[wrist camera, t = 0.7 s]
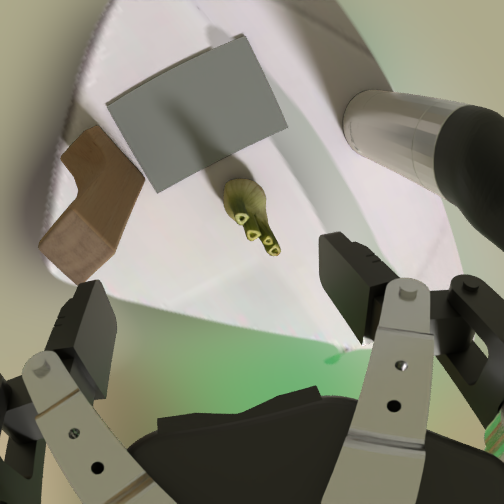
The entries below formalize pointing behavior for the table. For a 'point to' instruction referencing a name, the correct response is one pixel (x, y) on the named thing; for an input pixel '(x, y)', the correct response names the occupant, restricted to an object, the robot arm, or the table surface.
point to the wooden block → (93, 206)
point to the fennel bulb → (250, 212)
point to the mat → (198, 113)
